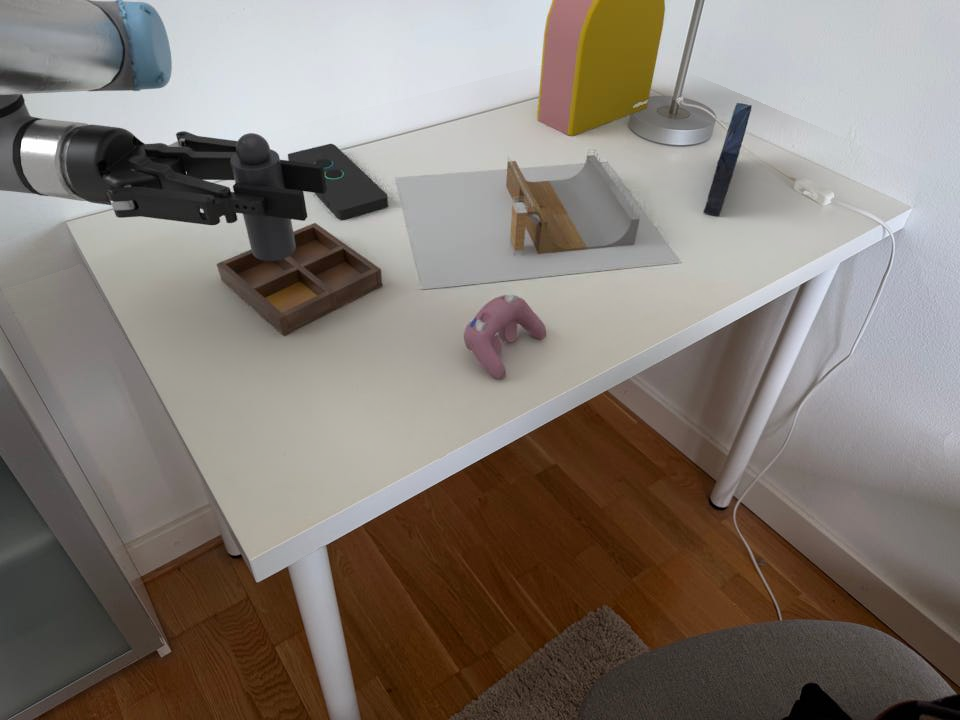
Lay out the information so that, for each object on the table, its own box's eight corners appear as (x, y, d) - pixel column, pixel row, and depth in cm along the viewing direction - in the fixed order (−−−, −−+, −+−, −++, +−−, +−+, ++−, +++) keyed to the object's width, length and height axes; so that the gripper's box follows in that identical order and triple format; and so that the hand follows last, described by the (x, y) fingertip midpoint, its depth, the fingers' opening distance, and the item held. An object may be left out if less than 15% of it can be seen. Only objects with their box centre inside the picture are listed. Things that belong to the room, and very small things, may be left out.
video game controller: (521, 334, 83) (502, 283, 80) (551, 335, 80) (533, 281, 77) (473, 380, 77) (450, 326, 74) (504, 383, 74) (481, 327, 71)
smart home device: (333, 141, 112) (390, 195, 100) (334, 151, 113) (391, 206, 101) (284, 153, 108) (337, 210, 96) (286, 163, 110) (338, 221, 97)
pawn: (266, 266, 68) (240, 150, 60) (243, 247, 70) (215, 133, 62) (304, 249, 71) (284, 136, 62) (281, 232, 73) (258, 120, 64)
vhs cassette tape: (719, 217, 101) (738, 154, 94) (699, 213, 102) (716, 150, 95) (737, 164, 113) (755, 105, 107) (719, 161, 114) (735, 102, 107)
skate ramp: (681, 262, 92) (694, 213, 87) (422, 289, 86) (420, 238, 81) (607, 161, 113) (614, 116, 108) (395, 177, 107) (392, 131, 102)
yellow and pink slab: (612, 91, 135) (637, -63, 117) (648, 107, 130) (680, -53, 112) (535, 119, 124) (548, -46, 106) (571, 136, 119) (591, -34, 101)
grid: (283, 336, 79) (279, 318, 77) (221, 280, 87) (216, 263, 85) (382, 286, 87) (381, 269, 85) (317, 238, 94) (315, 222, 92)
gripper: (148, 158, 77) (348, 183, 74) (47, 243, 64) (283, 278, 61) (127, 91, 72) (341, 115, 69) (12, 170, 59) (268, 203, 56)
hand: (313, 192), depth 65 cm, fingers closed on pawn, 4 cm apart
